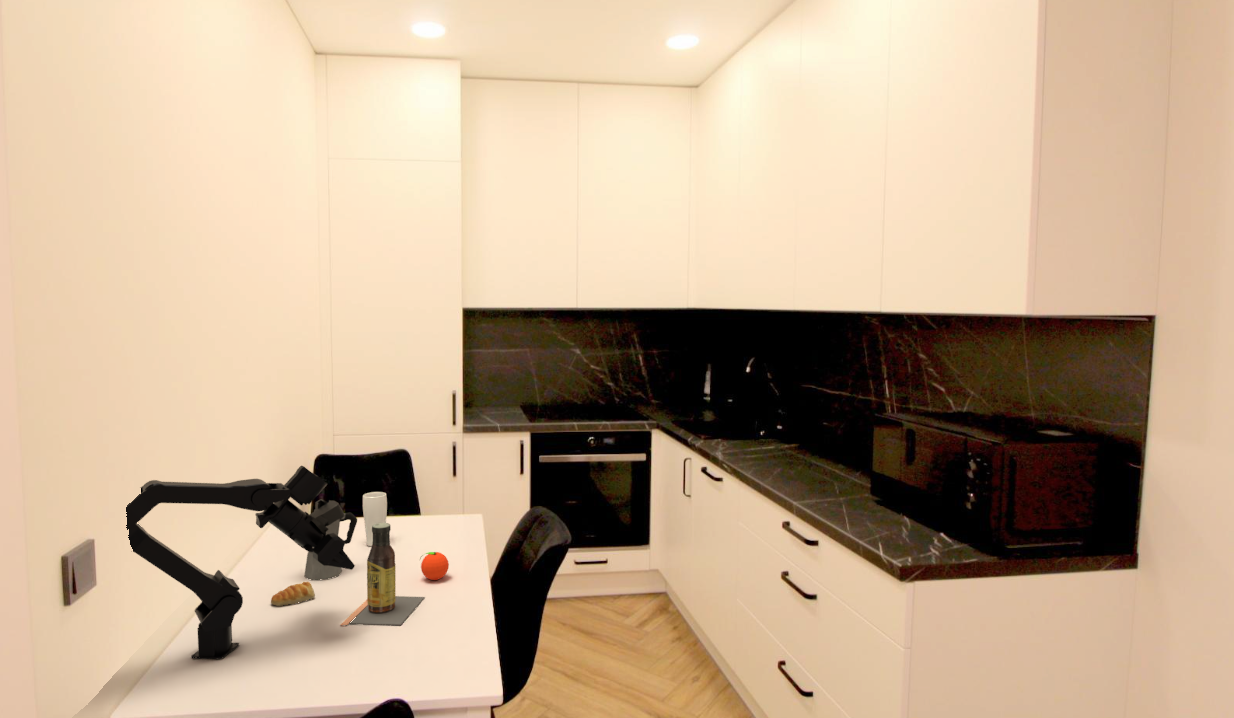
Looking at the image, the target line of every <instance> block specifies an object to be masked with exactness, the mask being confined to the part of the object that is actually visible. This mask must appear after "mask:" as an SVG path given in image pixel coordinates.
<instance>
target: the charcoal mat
mask: <svg viewBox="0 0 1234 718" xmlns="http://www.w3.org/2000/svg"><path fill="white" fill-rule="evenodd" d="M395 598H396V600H395V607H394V608H393V609H392V610H390V611H387V612H381V613H375V612H371V611H370V610H369V609H368V606H367V607H366V608H365V609H364V610H363V611H362V612H361V613H360V614H359V615H358V616H357V617H356V618H355V619H354V620H353V621H352V622H351V623H350V624H349V625H351V624H363V625H364V626H390V625H391V627H392V626H394V625H396V626H394V627H397V626H399V627H401V626H402V625H403V624H404V623H405V622H404V621H407V619H408V618H409V617H410V616H411V615H412V613H413V612H414V611H415V610H416V609H417V608H418V606H419V605H421V603H422V602H423V601H424V599H425V596H405V595H404V596H401V595H400V596H399V595H395ZM416 607H417V608H416ZM415 608H416V609H415ZM410 614H411V615H410ZM409 615H410V616H409Z"/></svg>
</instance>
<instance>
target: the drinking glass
mask: <svg viewBox="0 0 1234 718" xmlns="http://www.w3.org/2000/svg"><path fill="white" fill-rule="evenodd" d="M387 510H388V498H387V493H386V492H383V491H371V492H367V493H364V494H363V495H362V512H363V521H364V529H365V530H364V531H365V538H366V539H365V540H366V542H365V543H366V546H368V547H372V544H373V543H372V542H373V532H372V526H373V525H374V524H376V523H387V514H388V513H387V512H388V511H387Z"/></svg>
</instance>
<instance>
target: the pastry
mask: <svg viewBox="0 0 1234 718" xmlns="http://www.w3.org/2000/svg"><path fill="white" fill-rule="evenodd" d="M315 596H316V593H315V591H314V588H313V585H312V583H311V582H309V581H303V582H301V583H296V584H291V585H289V586H287V587H286V588H284V589H282V590H280V591H278V592H276V593H275V594H273V595H272V596H271V599H270V604H271V605H274V606H277V607H284V606H283V605H285V606H289V605H288V604H294V605H296V604H295V603H297V604H299V603H298V602H302V601H306V600H309V599H312V598H313V599H314V598H315ZM313 599H312V600H313ZM309 601H310V600H309ZM306 602H307V601H306ZM302 603H303V602H302Z"/></svg>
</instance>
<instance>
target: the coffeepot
mask: <svg viewBox="0 0 1234 718" xmlns="http://www.w3.org/2000/svg"><path fill="white" fill-rule="evenodd" d="M343 513H344V512H343ZM344 514H345V516H344V517H343V518H341V519H338V520H337V521H335V522H333V523H332V524H330V525H328V526H325V527H327V528H328V530H327V532H326V535H327V534H330V533H334V534H336V535H337V536H339V532H340V524H341V522H344V521H348V520H349V521H350V522H349V525H348V530H347V533H346V539H343V540H344V541H345V545H347V544H350V543H351V541H352V539H353V535H354V532H355V529H356V527H357V523H358V518H357V517H356V516H355V515H354V514H353V513H352V512H345V513H344ZM342 572H343V568H340V567H334V566H324V565H322V564H321V563H320V562H318V561H317V560H316V559H315V558H314V557H313V552H310V551H307V555H306V562H305V569H304V577H305V578H306V579H307V578H308V579H307V580H309V579H311V580H310V581H321V580H320V579H327V580H329V579H328V578H331V579H333V578H332V577H334V578H336V577H335V576H337V577H338V576H340V575H341V574H342ZM340 573H341V574H340ZM339 574H340V575H339Z"/></svg>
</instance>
